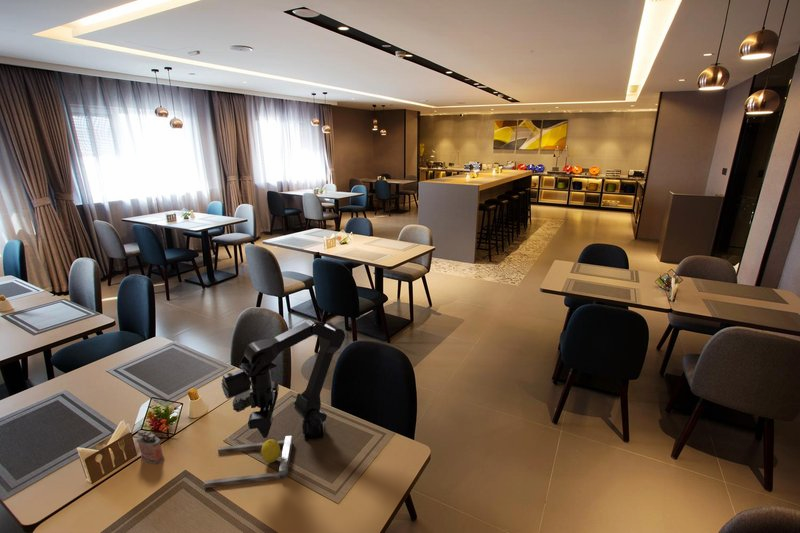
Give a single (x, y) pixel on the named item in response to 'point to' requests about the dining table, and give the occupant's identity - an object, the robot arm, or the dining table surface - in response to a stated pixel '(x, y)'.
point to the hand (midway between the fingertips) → (267, 426)
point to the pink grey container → (150, 447)
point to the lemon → (270, 451)
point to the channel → (259, 477)
